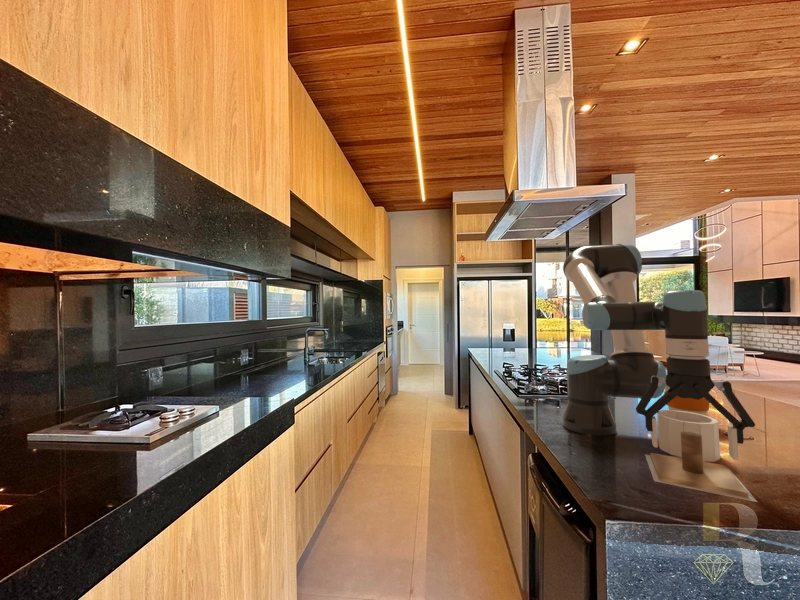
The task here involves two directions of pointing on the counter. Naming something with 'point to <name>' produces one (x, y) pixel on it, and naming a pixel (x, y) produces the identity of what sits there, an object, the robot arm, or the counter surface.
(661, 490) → the counter surface
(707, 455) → the ceramic bowl
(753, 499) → the grey mat
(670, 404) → the reusable coffee cup
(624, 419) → the counter surface
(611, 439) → the counter surface
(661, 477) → the oak cover
